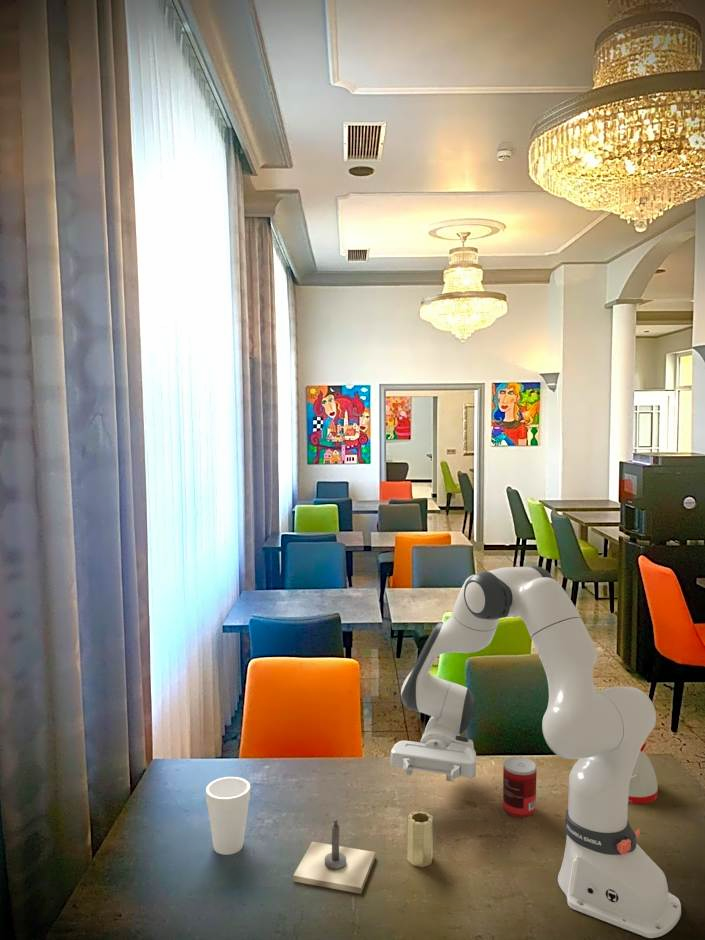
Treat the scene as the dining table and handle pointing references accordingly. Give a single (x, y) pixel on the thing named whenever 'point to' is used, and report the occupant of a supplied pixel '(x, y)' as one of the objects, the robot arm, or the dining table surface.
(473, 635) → the robot arm
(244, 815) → the foam cup
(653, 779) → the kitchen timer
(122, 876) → the dining table surface
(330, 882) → the shaft stand
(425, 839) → the collar
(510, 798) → the canned food
